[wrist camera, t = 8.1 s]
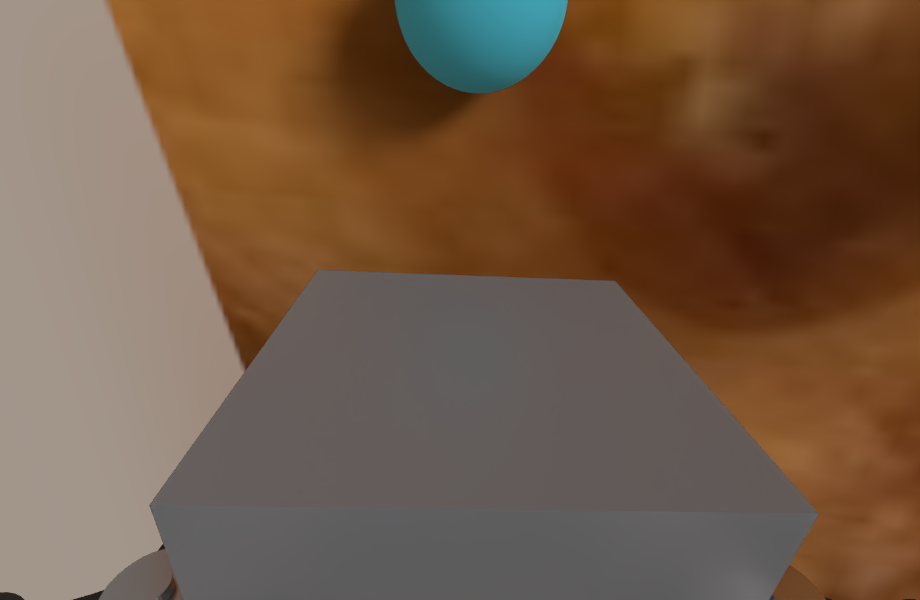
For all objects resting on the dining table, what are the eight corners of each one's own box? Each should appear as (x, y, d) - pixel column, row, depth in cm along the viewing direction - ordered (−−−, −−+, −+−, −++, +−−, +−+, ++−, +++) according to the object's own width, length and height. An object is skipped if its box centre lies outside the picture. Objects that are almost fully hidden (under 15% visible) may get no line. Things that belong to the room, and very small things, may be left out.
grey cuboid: (614, 281, 10) (820, 514, 5) (568, 490, 13) (659, 787, 8) (318, 269, 10) (149, 504, 4) (338, 486, 13) (254, 794, 7)
